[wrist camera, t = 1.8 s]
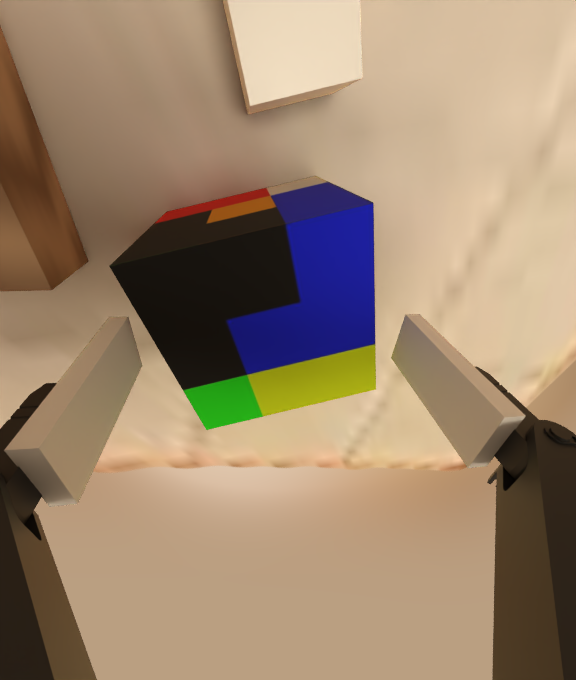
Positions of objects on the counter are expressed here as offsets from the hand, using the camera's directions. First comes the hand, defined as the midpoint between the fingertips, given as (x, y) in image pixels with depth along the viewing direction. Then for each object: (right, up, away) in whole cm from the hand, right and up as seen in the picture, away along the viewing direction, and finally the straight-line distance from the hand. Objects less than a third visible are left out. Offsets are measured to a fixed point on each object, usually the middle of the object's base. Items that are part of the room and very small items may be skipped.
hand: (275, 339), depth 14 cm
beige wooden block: (0, +15, +1) cm, 15 cm away
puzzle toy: (-1, +6, +8) cm, 10 cm away
